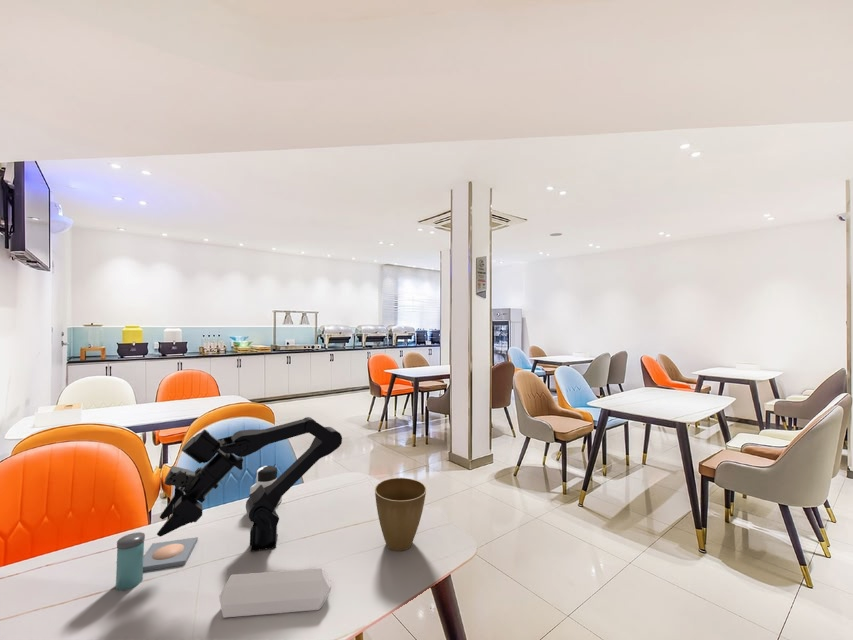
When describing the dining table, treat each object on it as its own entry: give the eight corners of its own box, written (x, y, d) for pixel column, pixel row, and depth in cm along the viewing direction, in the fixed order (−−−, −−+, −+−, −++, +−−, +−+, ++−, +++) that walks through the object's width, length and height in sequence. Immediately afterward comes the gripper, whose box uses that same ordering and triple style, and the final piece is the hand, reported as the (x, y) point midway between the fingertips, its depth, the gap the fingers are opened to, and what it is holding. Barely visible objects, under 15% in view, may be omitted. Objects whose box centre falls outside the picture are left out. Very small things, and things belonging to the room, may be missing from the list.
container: (282, 501, 129) (283, 464, 130) (270, 511, 122) (271, 472, 122) (261, 499, 130) (262, 463, 130) (249, 510, 122) (250, 471, 123)
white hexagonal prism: (334, 566, 89) (230, 573, 86) (331, 568, 83) (219, 575, 79) (331, 604, 85) (222, 613, 82) (328, 609, 79) (210, 619, 76)
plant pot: (364, 554, 100) (366, 495, 100) (385, 526, 114) (386, 475, 114) (416, 564, 96) (417, 503, 96) (431, 534, 110) (431, 481, 110)
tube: (146, 573, 90) (148, 531, 90) (137, 588, 85) (139, 542, 86) (121, 577, 89) (123, 534, 89) (110, 592, 84) (112, 546, 84)
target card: (197, 540, 104) (197, 536, 104) (185, 564, 94) (185, 560, 94) (152, 547, 101) (152, 543, 101) (134, 572, 91) (134, 568, 91)
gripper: (188, 445, 102) (136, 494, 95) (187, 467, 86) (125, 527, 80) (219, 468, 106) (171, 516, 99) (224, 493, 90) (168, 552, 84)
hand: (159, 526), depth 90 cm, fingers open, 9 cm apart
